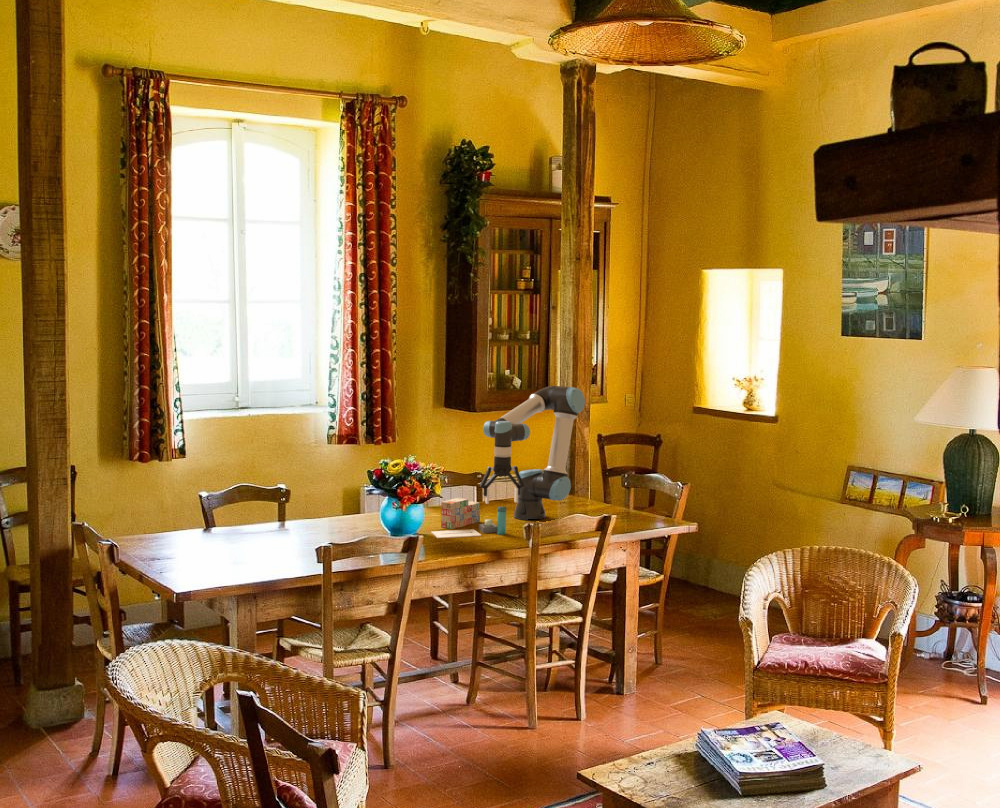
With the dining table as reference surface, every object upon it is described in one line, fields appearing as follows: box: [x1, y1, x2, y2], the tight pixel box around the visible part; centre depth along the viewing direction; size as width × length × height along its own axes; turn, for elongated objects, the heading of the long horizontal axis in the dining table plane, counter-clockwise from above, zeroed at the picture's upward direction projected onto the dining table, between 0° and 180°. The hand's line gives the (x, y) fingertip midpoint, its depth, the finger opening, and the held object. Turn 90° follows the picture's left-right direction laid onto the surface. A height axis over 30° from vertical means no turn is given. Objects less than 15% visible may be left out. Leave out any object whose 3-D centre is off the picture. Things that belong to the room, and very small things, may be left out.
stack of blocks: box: [440, 497, 481, 530], centre depth 516 cm, size 21×6×12 cm, turn 143°
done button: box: [484, 518, 493, 527], centre depth 503 cm, size 3×3×4 cm
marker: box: [496, 506, 507, 536], centre depth 498 cm, size 4×4×12 cm
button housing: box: [478, 523, 497, 534], centre depth 503 cm, size 7×7×2 cm
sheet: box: [430, 528, 482, 539], centre depth 496 cm, size 20×12×1 cm, turn 107°
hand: (501, 502), depth 496 cm, fingers open, 13 cm apart
